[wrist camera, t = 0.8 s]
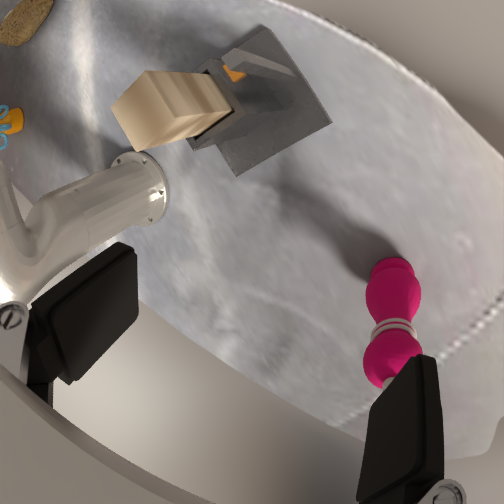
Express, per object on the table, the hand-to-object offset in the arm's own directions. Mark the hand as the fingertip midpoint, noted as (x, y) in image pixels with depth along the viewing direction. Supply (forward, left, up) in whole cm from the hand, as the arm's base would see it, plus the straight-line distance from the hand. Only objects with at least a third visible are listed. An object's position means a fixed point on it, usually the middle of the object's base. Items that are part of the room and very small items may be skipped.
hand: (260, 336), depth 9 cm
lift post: (-12, +6, -30) cm, 32 cm away
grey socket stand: (-12, +6, -31) cm, 34 cm away
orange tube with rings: (-71, +9, -31) cm, 78 cm away
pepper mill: (+8, -15, -31) cm, 36 cm away
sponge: (-63, +33, -32) cm, 77 cm away
